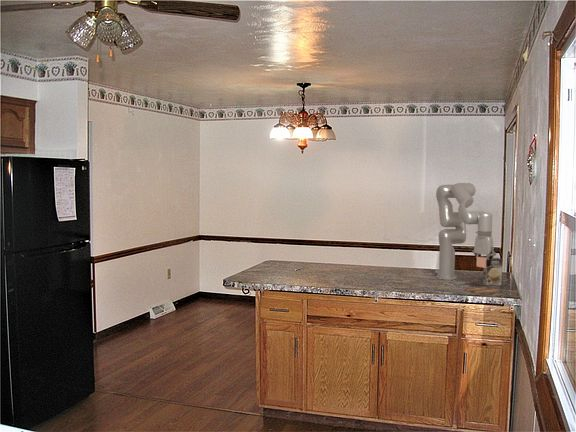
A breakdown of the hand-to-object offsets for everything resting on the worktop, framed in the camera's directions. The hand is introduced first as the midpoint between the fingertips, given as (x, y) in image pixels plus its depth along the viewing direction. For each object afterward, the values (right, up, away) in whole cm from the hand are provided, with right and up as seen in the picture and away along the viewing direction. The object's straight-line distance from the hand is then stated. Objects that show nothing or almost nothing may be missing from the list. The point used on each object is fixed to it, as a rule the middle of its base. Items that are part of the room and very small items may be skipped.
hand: (483, 265), depth 317 cm
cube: (0, -1, 0) cm, 1 cm away
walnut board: (0, -15, +1) cm, 15 cm away
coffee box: (+13, -14, +21) cm, 28 cm away
